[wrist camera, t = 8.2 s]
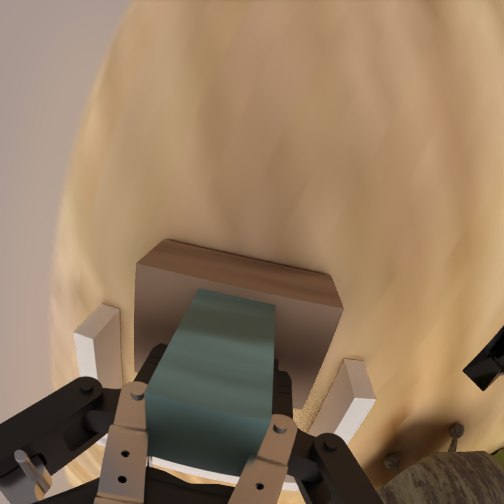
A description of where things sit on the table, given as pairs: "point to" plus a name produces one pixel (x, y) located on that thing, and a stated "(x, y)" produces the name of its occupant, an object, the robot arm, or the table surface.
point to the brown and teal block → (225, 348)
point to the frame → (110, 376)
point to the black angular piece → (488, 363)
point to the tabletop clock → (446, 478)
